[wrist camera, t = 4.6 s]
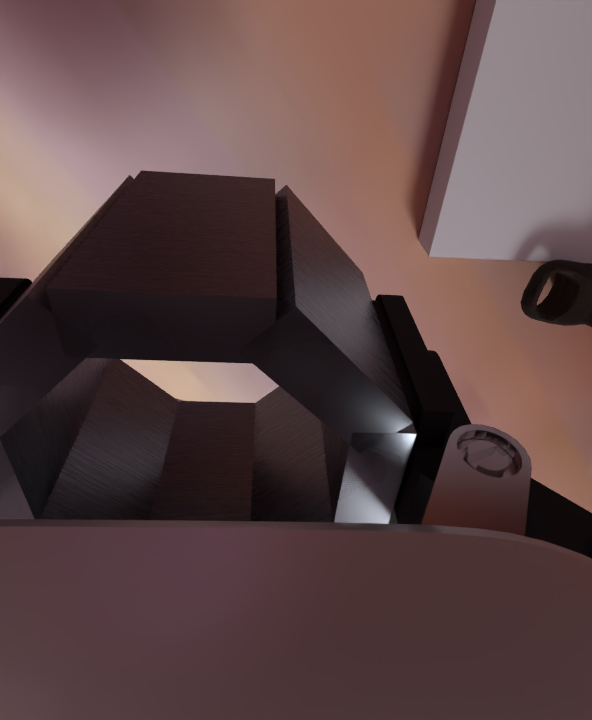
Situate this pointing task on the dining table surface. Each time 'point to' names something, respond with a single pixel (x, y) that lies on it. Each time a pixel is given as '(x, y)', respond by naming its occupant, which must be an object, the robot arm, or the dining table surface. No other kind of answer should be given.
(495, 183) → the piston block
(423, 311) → the dining table surface
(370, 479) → the steel ring
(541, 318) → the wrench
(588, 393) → the dining table surface
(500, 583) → the robot arm
